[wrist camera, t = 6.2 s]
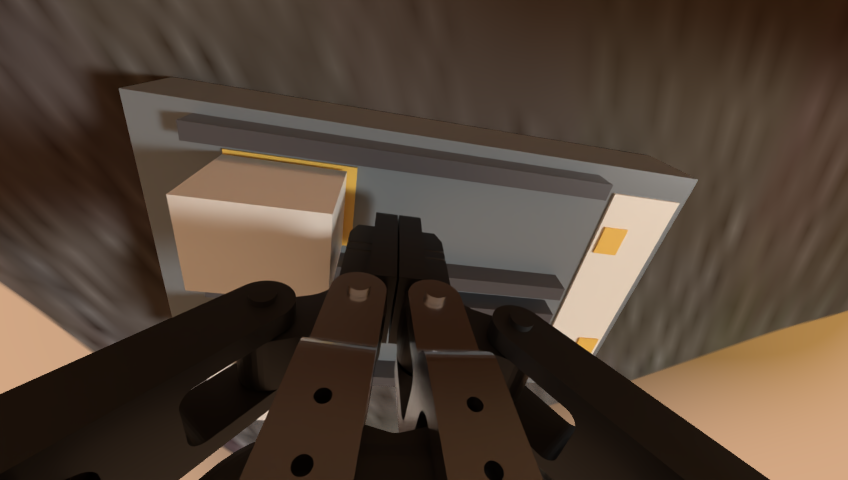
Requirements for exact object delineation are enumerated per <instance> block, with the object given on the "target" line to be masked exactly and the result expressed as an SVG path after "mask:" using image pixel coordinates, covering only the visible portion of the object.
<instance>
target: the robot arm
mask: <svg viewBox="0 0 848 480" xmlns="http://www.w3.org/2000/svg"><path fill="white" fill-rule="evenodd" d="M388 329H389V335H388ZM387 335H388V343H390V344H397V354H396V359H395V364H394V374H395V388H396V401H397V414H398V428H399V433H391V432H387V431H384V430H380V429H377V428H374V427H371V426H367V425H366V419H367V413H368V407H369V401H370V395H371V389H372V383H373V377H374V371H375V365H376V361H377V360H378V358H379V354H380V348H381V343H386V341H387ZM236 361H237V362H236ZM234 362H236V363H234ZM232 363H234V364H233V365H231V364H232ZM229 365H231V366H229ZM228 366H229V367H228ZM226 367H228V368H226ZM224 368H226V369H225V370H223V369H224ZM221 370H223V371H221ZM219 371H221V372H220V373H218V372H219ZM216 373H218V374H216ZM214 374H216V375H215V376H213V375H214ZM211 376H213V377H211ZM209 377H211V378H210V379H208V378H209ZM528 378H531V379H532V380H533V381H534V382H535V383H537V384H538V385H539V386H540V387H541V388H542V389H544V390H545V391H546V392H547V393H548V394H550V395H551V396H552V397H553V398H554V399H555V400H557V401H558V402H559V403H560V404H561V405H563V406H564V407H565V408H566V409H567V410H568V411H569V412H570V414H571V415H572V417H573V419H574V421H575V426H573V425H571V424H569V423H568V422H566V421H565V420H564V419H563V418H562V417H561V416H560V415H558V414H557V413H556V412H555V411H554V410H553V409H551V408H550V407H549V406H548V405H547V404H546V403H545V402H543V401H542V400H541V399H540V398H539V397H538V396H536V395H535V394H534V393H533V392H532V391H531V390H530V389H528V388H527V387H526V386H525V384H526V382H527V380H528ZM206 379H208V380H206ZM204 380H206V381H205V382H203V381H204ZM201 382H203V383H202V384H200V383H201ZM198 384H200V385H198ZM196 385H198V386H197V387H195V386H196ZM193 387H195V388H193ZM192 388H193V389H192ZM191 389H192V390H191ZM268 410H269V412H268V414H267V416H266V419H265V421H264V423H263V426H262V428H261V430H260V432H259V435H258V437H257V439H256V442H254V443H251V444H249V445H247V446H245V447H243V448H242V449H240V450H238V451H236V452H234V453H233V454H231V455H230V456H229V457H227V458H225V459H224V460H223V461H221V462H220V463H218V464H217V465H216V466H214V467H213V468H212V469H211V470H209V472H207V473H206V474H205V475H204V476H203V477H201V478H200V479H199V480H769V479H768V478H766V477H765V476H764V475H762V474H761V473H759V472H758V471H757V470H755V469H754V468H752V467H751V466H750V465H748V464H747V463H745V462H744V461H742V460H741V459H740V458H738V457H737V456H736V455H734V454H733V453H731V452H730V451H728V450H727V449H726V448H724V447H723V446H721V445H720V444H719V443H717V442H716V441H714V440H713V439H711V438H710V437H708V436H707V435H706V434H704V433H703V432H702V431H700V430H699V429H697V428H696V427H695V426H693V425H692V424H690V423H689V422H687V421H686V420H685V419H683V418H682V417H680V416H679V415H678V414H676V413H675V412H673V411H672V410H670V409H669V408H668V407H666V406H664V405H663V404H662V403H661V402H659V401H658V400H656V399H655V398H654V397H652V396H650V395H649V394H648V393H646V392H645V391H644V390H642V389H641V388H639V387H638V386H637V385H635V384H634V383H632V382H631V381H630V380H628V379H627V378H625V377H624V376H622V375H621V374H620V373H618V372H617V371H615V370H614V369H613V368H611V367H610V366H608V365H607V364H606V363H604V362H603V361H601V360H600V359H598V358H597V357H596V356H594V355H593V354H591V353H590V352H589V351H587V350H586V349H584V348H583V347H581V346H580V345H579V344H577V343H576V342H574V341H573V340H572V339H570V338H569V337H567V336H566V335H565V334H563V333H562V332H560V331H559V330H557V329H556V328H555V327H553V326H552V325H550V324H549V323H548V322H546V321H545V320H543V319H542V318H541V317H539V316H538V315H536V314H535V313H533V312H532V311H530V310H528V309H526V308H523V307H520V306H515V305H504V306H500V307H498V308H497V309H495V311H494V312H493V315H492V316H491V315H488V314H485V313H482V312H479V311H476V310H473V309H471V308H469V307H467V306H465V305H464V304H463V302H462V299H461V296H460V294H459V293H458V291H457V290H456V289H455V288H453V287H452V286H451V285H450V280H449V275H448V270H447V265H446V261H445V255H444V250H443V245H442V242H441V241H440V240H439V239H438V237H437V236H436V235H435V234H433V233H425V232H422V225H421V218H419V217H412V216H404V215H399V217H398V215H395V214H388V213H380V212H376V219H375V226H368V225H359V224H358V225H357V226H356V227H355V228H354V229H352V230H351V231H350V234H349V238H348V242H347V246H346V250H345V254H344V258H343V262H342V266H341V270H340V274H339V276H338V277H337V278H335V279H334V280H333V281H332V283H331V285H330V288H329V289H328V290H326V291H324V292H321V293H318V294H313V295H307V296H298V297H296V294H295V292H294V290H293V289H292V288H291V287H290V286H288V285H286V284H284V283H282V282H278V281H267V280H266V281H257V282H253V283H249V284H246V285H244V286H242V287H239V288H237V289H235V290H233V291H231V292H228V293H226V294H224V295H222V296H219V297H217V298H215V299H213V300H210V301H208V302H206V303H204V304H201V305H199V306H197V307H195V308H192V309H190V310H188V311H186V312H183V313H181V314H179V315H177V316H174V317H172V318H170V319H168V320H166V321H163V322H161V323H159V324H157V325H154V326H152V327H150V328H148V329H145V330H143V331H141V332H139V333H136V334H134V335H132V336H130V337H127V338H125V339H123V340H121V341H118V342H116V343H114V344H112V345H110V346H107V347H105V348H103V349H101V350H98V351H96V352H94V353H92V354H89V355H87V356H85V357H83V358H80V359H78V360H76V361H74V362H71V363H69V364H67V365H65V366H62V367H60V368H58V369H56V370H54V371H51V372H49V373H47V374H45V375H42V376H40V377H38V378H36V379H33V380H31V381H29V382H27V383H25V384H22V385H20V386H18V387H15V388H13V389H11V390H9V391H6V392H5V393H2V394H0V480H179V479H180V478H182V477H183V476H184V475H186V474H187V473H188V472H189V471H191V470H192V469H193V468H195V467H196V466H197V465H199V464H200V463H201V462H202V461H204V460H205V459H206V458H207V457H209V456H210V455H211V454H213V453H214V452H215V451H217V450H218V449H219V448H221V447H222V446H223V445H224V444H226V443H227V442H228V441H230V440H231V439H232V438H233V437H235V436H236V435H237V434H239V433H240V432H241V431H243V430H244V429H245V428H246V427H248V426H249V425H250V424H252V423H253V422H254V421H255V420H257V419H258V418H259V417H261V416H262V415H263V414H265V413H266V412H267V411H268Z"/></svg>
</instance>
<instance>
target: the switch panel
mask: <svg viewBox="0 0 848 480" xmlns="http://www.w3.org/2000/svg"><path fill="white" fill-rule="evenodd" d="M119 92H120V96H121V101H122V105H123V109H124V114H125V118H126V122H127V126H128V131H129V135H130V139H131V144H132V148H133V152H134V156H135V161H136V165H137V169H138V174H139V178H140V182H141V186H142V191H143V195H144V199H145V203H146V208H147V212H148V216H149V221H150V225H151V229H152V233H153V238H154V242H155V246H156V251H157V255H158V259H159V263H160V268H161V272H162V276H163V281H164V285H165V289H166V293H167V298H168V302H169V306H170V310H171V315H172V317H174V316H177V315H179V314H181V313H183V312H186V311H188V310H190V309H192V308H195V307H197V306H199V305H201V304H204V303H206V302H208V301H210V300H213V299H215V298H217V297H219V296H222V295H224V294H222V293H210V292H198V291H186V290H185V287H184V282H183V276H182V271H181V266H180V261H179V256H178V251H177V246H176V241H175V236H174V231H173V226H172V221H171V216H170V211H169V206H168V201H167V196H166V194H167V193H169V192H170V191H171V190H173V189H174V188H176V187H177V186H178V185H180V184H181V183H182V182H184V181H185V180H187V179H188V178H189V177H191V176H192V175H194V174H195V173H196V172H198V171H199V170H201V169H202V168H203V167H205V166H206V165H207V164H209V163H210V162H212V161H213V160H214V159H216V158H217V157H219V156H220V155H221V154H225V155H232V156H240V157H247V158H254V159H261V160H268V161H276V162H283V163H290V164H297V165H305V166H312V167H319V168H326V169H334V170H341V171H347V178H346V192H345V207H344V221H343V236H342V247H341V251H340V255H339V259H338V264H337V268H336V272H335V276H334V279H335V278H337V277H338V276H339V274H340V270H341V266H342V262H343V258H344V254H345V250H346V246H347V242H348V238H349V234H350V231H351V230H352V229H354V228H355V227H356V226H357V225H358V224H359V225H368V226H375V219H376V212H380V213H388V214H395V215H398V217H399V215H404V216H412V217H419V218H421V225H422V232H425V233H433V234H435V235H436V236H437V237H438V239H439V240H440V241H441V242H442V245H443V250H444V255H445V261H446V265H447V270H448V275H449V280H450V285H451V286H452V287H453V288H455V289H456V290H457V291H458V293H459V294H460V296H461V299H462V302H463V304H464V305H465V306H467V307H469V308H471V309H473V310H476V311H479V312H482V313H485V314H488V315H491V316H492V315H493V312H494V311H495V309H497V308H498V307H500V306H504V305H515V306H520V307H523V308H526V309H528V310H530V311H532V312H533V313H535V314H536V315H538V316H539V317H541V318H542V319H543V320H545V321H546V322H548V323H549V324H550V325H552V326H553V327H555V328H556V329H557V330H559V331H560V332H562V333H563V334H565V335H566V336H567V337H569V338H570V339H572V340H573V341H574V342H576V343H577V344H579V345H580V346H581V347H583V348H584V349H586V350H587V351H589V352H590V353H591V354H593V355H594V356H596V354H597V352H598V350H599V349H600V347H601V345H602V344H603V342H604V340H605V339H606V337H607V335H608V333H609V332H610V330H611V328H612V327H613V325H614V323H615V321H616V320H617V318H618V316H619V315H620V313H621V311H622V309H623V308H624V306H625V304H626V303H627V301H628V299H629V297H630V296H631V294H632V292H633V291H634V289H635V287H636V285H637V284H638V282H639V280H640V279H641V277H642V275H643V273H644V272H645V270H646V268H647V267H648V265H649V263H650V262H651V260H652V258H653V256H654V255H655V253H656V251H657V250H658V248H659V246H660V244H661V243H662V241H663V239H664V238H665V236H666V234H667V232H668V231H669V229H670V227H671V226H672V224H673V222H674V220H675V219H676V217H677V215H678V214H679V212H680V210H681V208H682V207H683V205H684V203H685V202H686V200H687V198H688V197H689V195H690V193H691V191H692V190H693V188H694V186H695V185H696V183H697V181H698V179H696V178H694V177H692V176H690V175H688V174H686V173H684V172H682V171H680V170H678V169H676V168H674V167H672V166H670V165H668V164H665V163H663V162H661V161H659V160H657V159H655V158H653V157H651V156H648V155H642V154H636V153H630V152H623V151H617V150H611V149H605V148H599V147H593V146H587V145H581V144H575V143H569V142H563V141H557V140H551V139H545V138H539V137H533V136H527V135H521V134H515V133H509V132H503V131H496V130H490V129H484V128H478V127H472V126H466V125H460V124H454V123H448V122H442V121H436V120H430V119H424V118H418V117H412V116H406V115H400V114H394V113H388V112H382V111H376V110H369V109H363V108H357V107H351V106H345V105H339V104H333V103H327V102H321V101H315V100H309V99H303V98H297V97H291V96H285V95H279V94H273V93H267V92H261V91H255V90H248V89H242V88H236V87H230V86H224V85H218V84H212V83H206V82H200V81H194V80H188V79H182V78H176V77H169V78H165V79H160V80H155V81H150V82H146V83H141V84H136V85H131V86H127V87H122V88H119ZM388 335H389V329H388ZM388 335H387V341H386V343H381V348H380V354H379V358H378V360H377V361H376V365H375V371H374V377H373V383H372V386H391V387H395V374H394V364H395V359H396V354H397V344H390V343H388ZM527 382H531V383H535V382H534V381H533V380H532V379H531V378H528V380H527Z"/></svg>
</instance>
